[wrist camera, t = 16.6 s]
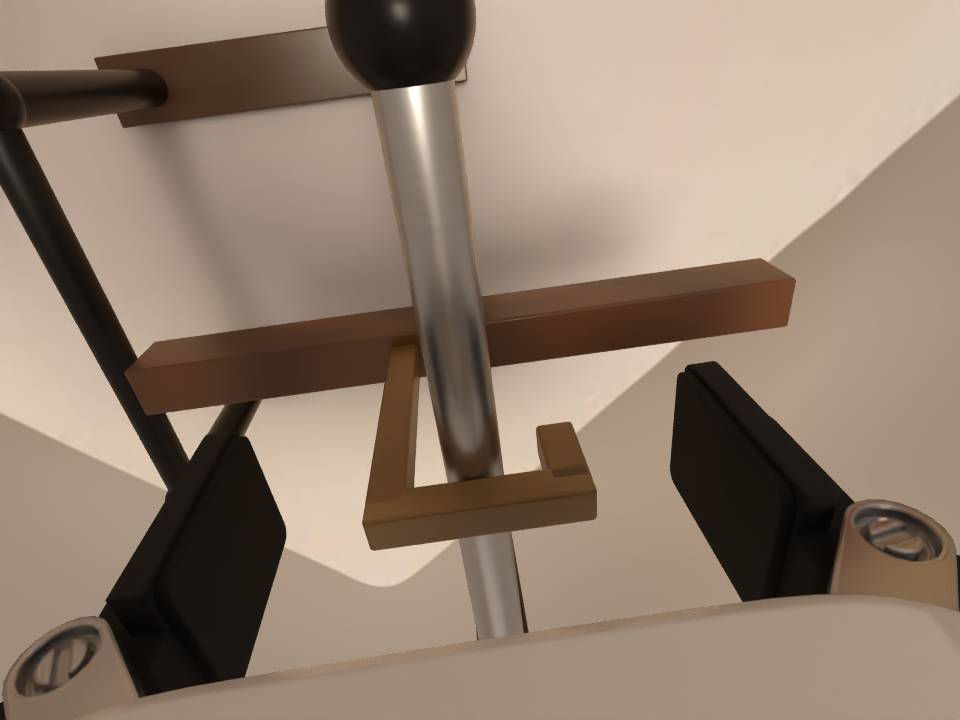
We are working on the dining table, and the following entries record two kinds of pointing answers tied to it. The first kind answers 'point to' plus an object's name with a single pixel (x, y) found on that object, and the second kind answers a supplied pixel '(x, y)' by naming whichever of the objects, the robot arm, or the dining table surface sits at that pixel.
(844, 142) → the dining table surface
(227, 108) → the rack
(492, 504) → the hanger
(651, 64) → the dining table surface
